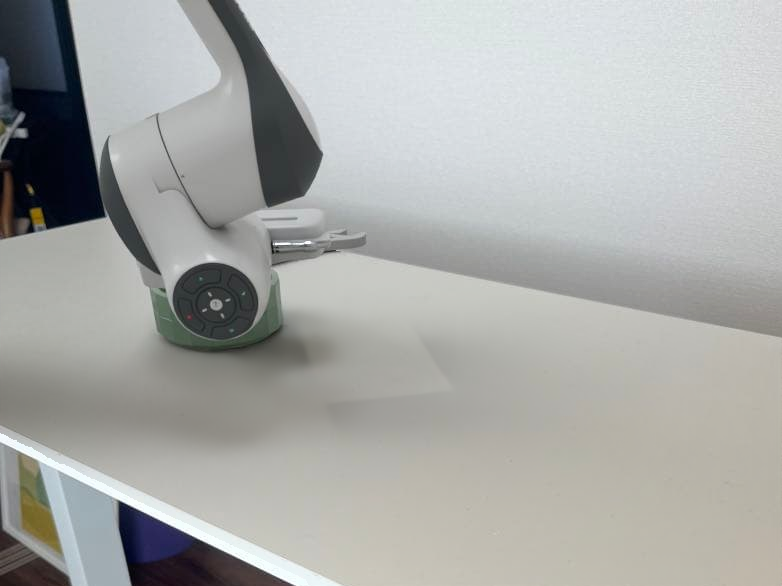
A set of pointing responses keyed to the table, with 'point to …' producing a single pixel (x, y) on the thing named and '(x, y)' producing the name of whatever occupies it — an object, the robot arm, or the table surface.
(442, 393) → the table surface
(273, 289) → the bowl
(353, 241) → the adjustable wrench
